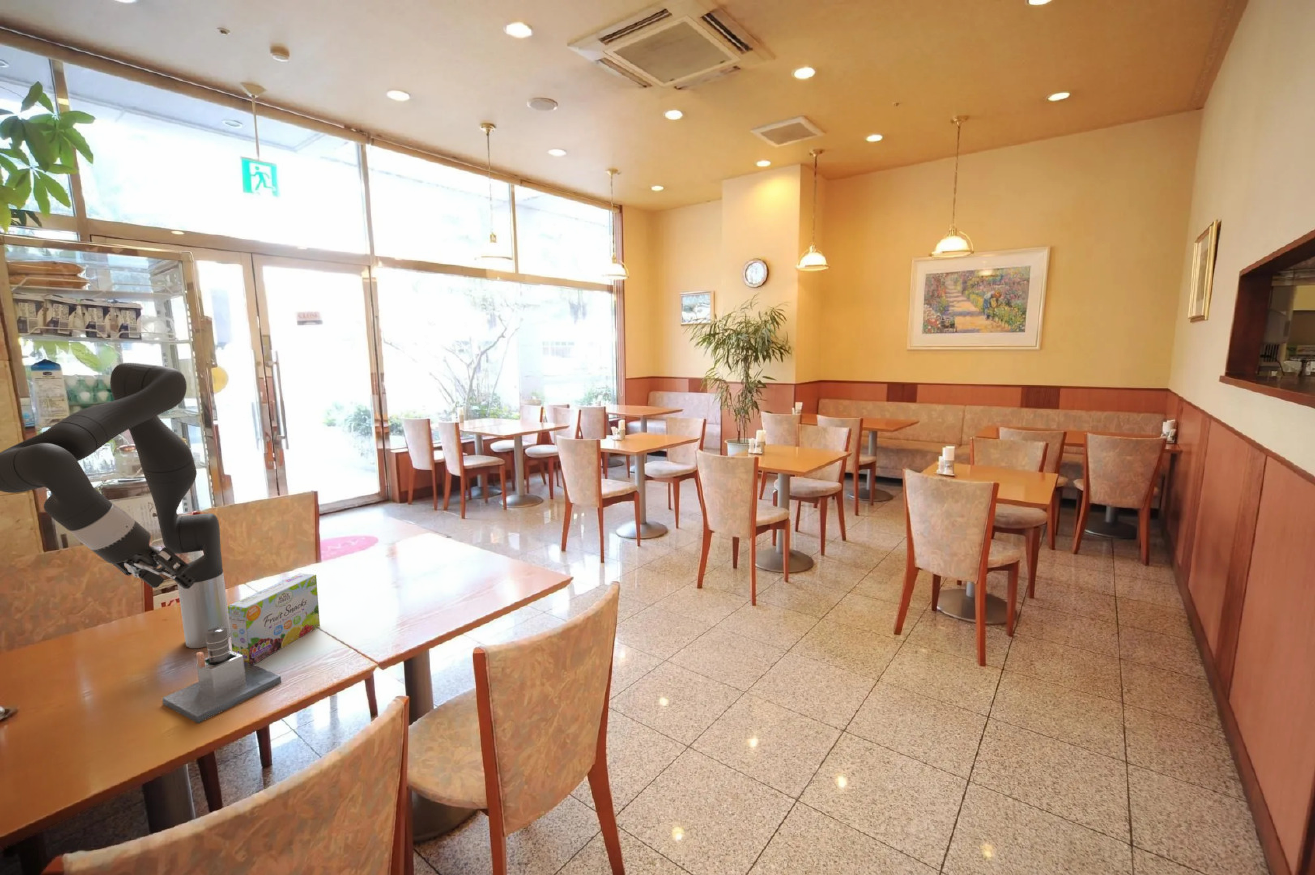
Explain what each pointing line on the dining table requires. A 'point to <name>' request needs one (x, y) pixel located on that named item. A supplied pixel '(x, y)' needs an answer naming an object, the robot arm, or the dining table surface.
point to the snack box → (274, 617)
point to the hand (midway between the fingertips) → (175, 584)
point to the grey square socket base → (220, 687)
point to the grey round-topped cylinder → (217, 645)
